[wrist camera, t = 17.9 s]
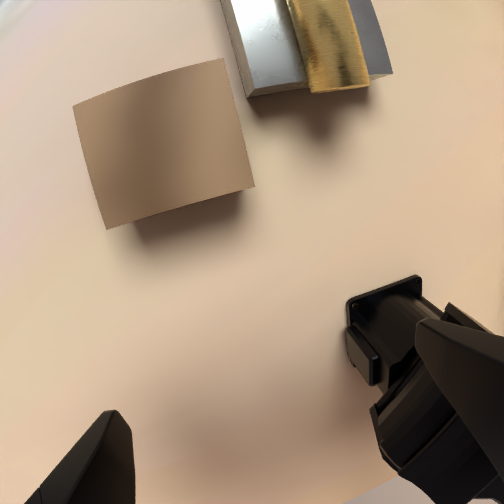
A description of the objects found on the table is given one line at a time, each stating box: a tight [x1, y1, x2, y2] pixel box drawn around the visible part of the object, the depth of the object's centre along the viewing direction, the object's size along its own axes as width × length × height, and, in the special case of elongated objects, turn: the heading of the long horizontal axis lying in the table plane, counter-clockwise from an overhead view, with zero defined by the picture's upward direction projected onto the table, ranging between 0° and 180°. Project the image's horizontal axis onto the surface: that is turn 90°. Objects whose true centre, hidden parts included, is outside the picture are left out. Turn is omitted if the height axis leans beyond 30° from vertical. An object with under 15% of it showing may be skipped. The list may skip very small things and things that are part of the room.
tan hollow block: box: [73, 58, 255, 230], centre depth 15 cm, size 7×6×4 cm
